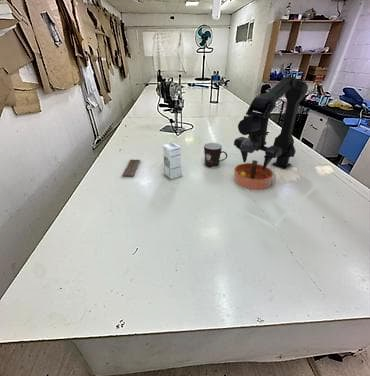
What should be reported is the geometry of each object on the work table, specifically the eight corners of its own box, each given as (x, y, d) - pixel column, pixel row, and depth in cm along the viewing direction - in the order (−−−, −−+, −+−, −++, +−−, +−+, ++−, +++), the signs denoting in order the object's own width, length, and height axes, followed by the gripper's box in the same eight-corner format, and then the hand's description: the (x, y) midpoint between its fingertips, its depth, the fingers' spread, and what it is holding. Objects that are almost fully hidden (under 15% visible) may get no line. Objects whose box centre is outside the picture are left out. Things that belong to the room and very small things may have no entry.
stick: (251, 178, 103) (254, 159, 99) (255, 180, 101) (258, 161, 98) (248, 180, 101) (251, 161, 98) (252, 181, 100) (255, 162, 96)
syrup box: (181, 176, 105) (181, 146, 99) (170, 179, 102) (169, 148, 96) (174, 171, 109) (174, 142, 103) (163, 174, 106) (162, 144, 100)
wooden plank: (133, 174, 103) (122, 173, 103) (133, 177, 104) (122, 176, 104) (139, 159, 119) (130, 159, 118) (140, 162, 119) (130, 161, 119)
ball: (244, 173, 104) (242, 169, 103) (249, 176, 102) (246, 172, 100) (239, 178, 104) (237, 173, 102) (243, 181, 101) (241, 176, 100)
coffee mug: (199, 162, 118) (200, 144, 114) (214, 160, 121) (215, 141, 117) (211, 172, 108) (213, 152, 104) (227, 169, 112) (229, 149, 108)
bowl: (246, 169, 112) (247, 160, 110) (277, 182, 101) (279, 171, 99) (226, 180, 102) (227, 170, 100) (258, 195, 91) (260, 184, 89)
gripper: (227, 128, 93) (224, 164, 99) (271, 140, 81) (264, 180, 87) (243, 123, 100) (239, 156, 106) (285, 133, 88) (278, 171, 94)
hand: (254, 165), depth 98 cm, fingers open, 9 cm apart
